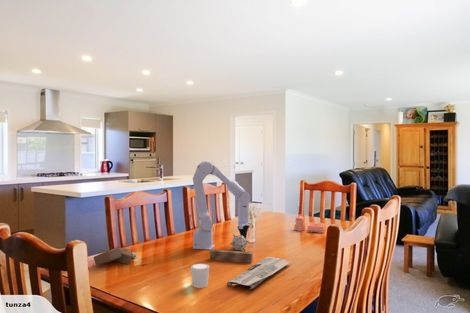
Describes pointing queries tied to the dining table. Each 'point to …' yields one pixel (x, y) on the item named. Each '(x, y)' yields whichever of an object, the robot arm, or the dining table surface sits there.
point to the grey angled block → (115, 256)
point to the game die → (239, 242)
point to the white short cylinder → (200, 275)
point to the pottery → (311, 226)
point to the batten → (231, 256)
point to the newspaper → (259, 272)
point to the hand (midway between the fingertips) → (243, 239)
